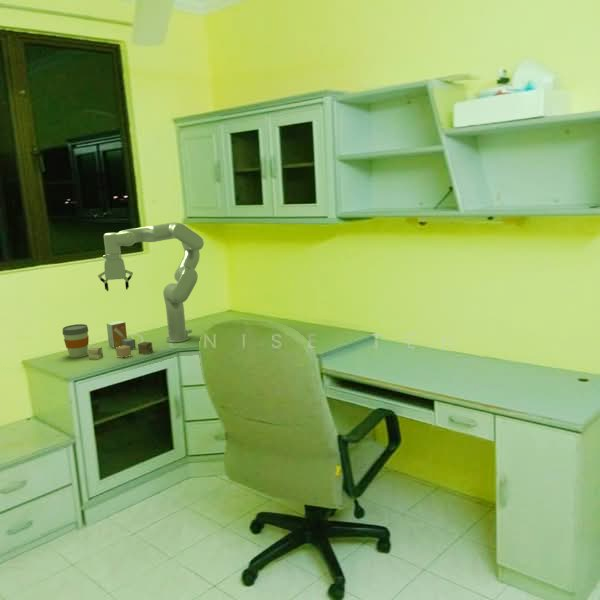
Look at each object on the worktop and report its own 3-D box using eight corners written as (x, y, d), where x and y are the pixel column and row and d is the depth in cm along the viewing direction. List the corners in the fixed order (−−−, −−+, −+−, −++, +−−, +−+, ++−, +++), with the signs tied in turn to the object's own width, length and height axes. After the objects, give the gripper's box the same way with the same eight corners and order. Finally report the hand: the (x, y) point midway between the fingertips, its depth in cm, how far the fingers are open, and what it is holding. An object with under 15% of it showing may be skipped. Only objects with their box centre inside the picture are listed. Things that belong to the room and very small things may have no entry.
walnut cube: (145, 350, 314) (144, 341, 313) (152, 351, 312) (151, 342, 311) (138, 353, 309) (137, 344, 308) (146, 354, 307) (145, 344, 306)
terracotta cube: (124, 354, 309) (123, 345, 308) (131, 355, 306) (130, 346, 305) (116, 357, 304) (115, 347, 303) (123, 358, 302) (122, 348, 301)
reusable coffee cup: (76, 359, 303) (72, 331, 300) (60, 356, 310) (56, 328, 307) (96, 352, 314) (92, 325, 311) (80, 350, 320) (77, 323, 317)
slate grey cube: (131, 346, 322) (130, 337, 321) (135, 348, 319) (134, 339, 318) (122, 348, 319) (121, 339, 318) (127, 350, 316) (126, 341, 315)
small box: (114, 348, 320) (111, 325, 318) (108, 346, 325) (106, 323, 322) (128, 345, 326) (125, 322, 323) (122, 343, 330) (120, 320, 328)
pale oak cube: (93, 356, 308) (92, 346, 307) (102, 356, 307) (101, 346, 306) (89, 359, 303) (87, 349, 302) (98, 359, 303) (97, 349, 302)
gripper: (95, 259, 300) (99, 292, 304) (130, 256, 304) (134, 289, 307) (96, 257, 307) (100, 290, 311) (131, 254, 311) (134, 287, 314)
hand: (117, 289), depth 309 cm, fingers open, 9 cm apart
